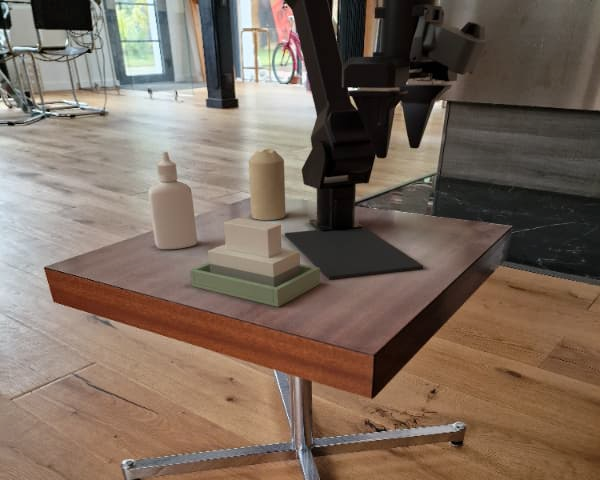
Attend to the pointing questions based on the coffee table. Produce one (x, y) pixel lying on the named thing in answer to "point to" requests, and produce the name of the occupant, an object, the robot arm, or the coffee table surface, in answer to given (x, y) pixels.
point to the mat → (351, 253)
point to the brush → (254, 254)
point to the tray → (256, 285)
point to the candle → (267, 185)
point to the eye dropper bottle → (171, 209)
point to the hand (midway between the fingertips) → (398, 152)
